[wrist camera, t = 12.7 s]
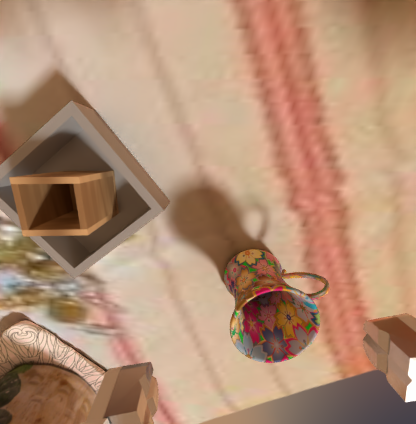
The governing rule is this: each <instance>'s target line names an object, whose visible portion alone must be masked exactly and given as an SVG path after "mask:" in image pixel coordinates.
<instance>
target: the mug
mask: <svg viewBox="0 0 416 424" xmlns="http://www.w3.org/2000/svg"><path fill="white" fill-rule="evenodd" d="M282 278H284V279H289V278H311V279H315V280H318V281H321V282H323V283H324V284H325V287H324V288H323V289H322V290H321V291H319V292H317V293H313V294H305V293H304V292H302V291H300V290H298V289H295V288H293V287H291V286H289V285H288V284H287V283H286V282H285V281H284V280H283V279H282ZM224 282H225V285H226V288H227V290H228V291H229V292H230V293H231V294H232V295H233V296H234V298H235V310H234V312H233V314H232V317H231V321H230V334H231V338H232V341H233V343H234V345H235V346H236V347H237V349H238V350H239V351H240V352H241V353H242V354H244V355H245V356H247V357H248V358H250V359H253V360H256V361H259V362H266V363H274V362H281V361H285V360H289V359H291V358H293V357H295V356H297V355H299V354H300V353H302V352H303V351H305V350H306V349H307V348H308V347H309V346H310V345H311V343H312V342H313V341H314V339H315V337H316V335H317V333H318V330H319V326H320V316H319V312H318V309H317V307H316V305H315V303H314V302H313V300H316V299H320V298H322V297H324V296H325V295H326V294H327V293H328V292H329V290H330V285H329V283H328V281H327V280H326V279H325V278H323V277H322V276H319V275H316V274H312V273H305V272H294V273H286V270H285V269H283V270H282V268H281V265H280V263H279V261H278V260H277V259H276V257H274V256H273V255H272V254H270V253H269V252H267V251H264V250H259V249H250V250H246V251H243V252H241V253H239V254H237V255H236V256H234V257H233V258H232V259H231V260H230V261H229V263H228V265H227V266H226V269H225V273H224Z"/></svg>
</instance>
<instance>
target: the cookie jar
mask: <svg viewBox="0 0 416 424" xmlns="http://www.w3.org/2000/svg"><path fill="white" fill-rule="evenodd" d="M105 373H106V372H105V371H104V370H103V369H102V368H100V367H99V366H97V365H96V364H94V363H93V362H91V361H90V360H88V359H87V358H85V357H84V356H82V355H81V354H80V353H78V352H77V351H75V350H74V349H73V348H71V347H69V346H68V345H66V344H64V343H63V342H62V341H60V340H59V339H58V338H57V337H56V336H54V335H53V334H52V333H50V332H49V331H47V330H45V329H44V328H42V327H40V326H38V325H36V324H34V323H32V322H31V321H27V320H24V321H20V322H19V323H17V324H14V325H12V326H11V327H9V328H8V329H6V330H5V331H4V332H3V333H2V335H1V336H0V424H80V423H83V422H86V420H87V417H88V415H89V412H90V410H91V407H92V405H93V402H94V400H95V398H96V395H97V393H98V390H99V388H100V385H101V383H102V380H103V378H104V376H105Z"/></svg>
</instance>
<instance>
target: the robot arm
mask: <svg viewBox="0 0 416 424" xmlns="http://www.w3.org/2000/svg"><path fill="white" fill-rule="evenodd" d="M364 330H365V332H366V333H367V335H366V336H365V337H364V339H363V347H364V349H365V352H366V355H367V356H368V358H369V360H370V361H371V362H372V364H373V365H374V366H375V367H376V368H377V369H379V370H380V371H382V372H384V373H386V376H387V381H388V382H389V384H390V385H391V386H392V387H393V388H394V389H395V390H396V392H397V393H398V394H399V395H400V396H401V397H402V399H403V400H404V401H405V402H409V401H415V400H416V318H414V317H413V316H412V315H409V314H407V313H405V314H399V315H394V316H388V317H383V318H378V319H373V320H369V321H366V322H365V323H364ZM152 374H153V367H152V364H151V362H147V363H141V364H134V365H128V366H123V367H117V368H111V369H109V370H108V371H107V372H106V373H105V376H104V378H103V380H102V383H101V385H100V388H99V390H98V393H97V395H96V398H95V400H94V402H93V405H92V407H91V410H90V412H89V415H88V417H87V420H86V422H83V423H80V424H154V422H153V419H152V417H153V416H154V414H155V413H156V411H157V407H158V384H157V380H156V378H155V377H153V376H152Z"/></svg>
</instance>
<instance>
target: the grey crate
mask: <svg viewBox="0 0 416 424" xmlns="http://www.w3.org/2000/svg"><path fill="white" fill-rule="evenodd" d="M59 171H114V174H115V183H116V192H117V201H118V210H119V214H117V215H116V216H114V217H113V218H112V219H110V220H109V221H107V222H106V223H105V224H103V225H102V226H100V227H99V228H98V229H96V230H95V231H93V232H92V233H91V234H89V235H74V236H29V237H30V238H31V239H32V240H33V241H35V242H36V243H37V244H38V245H39V246H40V247H41V248H42V249H43V250H44V251H45V252H46V253H47V254H48V255H49V256H50V257H51V258H53V259H54V260H55V261H56V262H57V263H58V264H59V265H60V266H61V267H62V268H63V269H64V270H65V271H66V272H67V273H68V274H70V275H71V276H72V277H73V278H74V279H75V278H76V277H78V276H79V275H80V274H82V273H83V272H84V271H85V270H87V269H88V268H89V267H91V266H92V265H93V264H95V263H96V262H97V261H99V260H100V259H101V258H102V257H104V256H105V255H106V254H108V253H109V252H110V251H112V250H113V249H114V248H116V247H117V246H118V245H120V244H121V243H122V242H123V241H125V240H126V239H127V238H129V237H130V236H131V235H133V234H134V233H135V232H137V231H138V230H139V229H140V228H142V227H143V226H144V225H146V224H147V223H148V222H150V221H151V220H152V219H154V218H155V217H156V216H158V215H159V214H160V213H161V212H163V211H164V210H165V208H166V207H167V205H168V204H169V202H170V200H169V199H168V198H167V197H166V196H165V194H164V193H163V192H162V191H161V190H160V188H159V187H158V186H157V185H156V183H155V182H154V181H153V180H152V179H151V177H150V176H149V175H148V174H147V173H146V171H145V170H144V169H143V168H142V166H141V165H140V164H139V163H138V162H137V160H136V159H135V158H134V157H133V156H132V154H131V153H130V152H129V151H128V149H127V148H126V147H125V146H124V145H123V143H122V142H121V141H120V140H119V138H118V137H117V136H116V135H115V134H114V132H113V131H112V130H111V129H110V128H109V126H108V125H107V124H106V123H105V121H104V120H103V119H102V118H101V117H100V115H99V114H98V113H97V112H96V111H95V110H93V109H91V108H88V107H86V106H84V105H81V104H79V103H77V102H74V101H72V100H71V101H70V102H69V103H68V104H67V105H66V106H65V107H63V108H62V109H61V110H60V111H59V112H58V113H57V114H56V115H55V116H54V117H52V118H51V119H50V120H49V121H48V122H47V123H46V124H45V125H44V126H43V127H42V128H40V129H39V130H38V131H37V132H36V133H35V134H34V135H33V136H32V137H31V138H29V139H28V140H27V141H26V142H25V143H24V144H23V145H22V146H21V147H20V148H18V149H17V150H16V151H15V152H14V153H13V154H12V155H11V156H10V157H9V158H7V159H6V160H5V161H4V162H3V163H2V164H1V165H0V209H1V210H2V211H3V212H4V213H5V214H6V215H7V216H8V217H9V218H10V219H11V220H12V221H13V222H14V223H15V224H16V225H18V226H19V227H20V228H21V225H20V221H19V217H18V213H17V208H16V204H15V200H14V196H13V191H12V187H11V183H10V179H9V177H16V176H25V175H33V174H42V173H50V172H59Z"/></svg>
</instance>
